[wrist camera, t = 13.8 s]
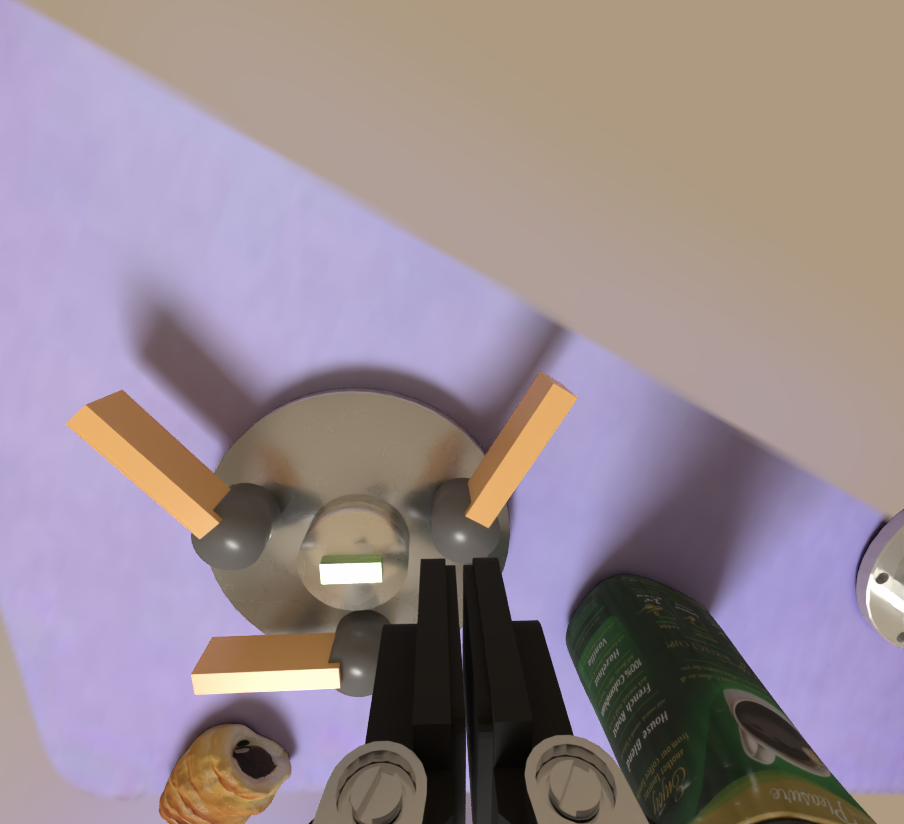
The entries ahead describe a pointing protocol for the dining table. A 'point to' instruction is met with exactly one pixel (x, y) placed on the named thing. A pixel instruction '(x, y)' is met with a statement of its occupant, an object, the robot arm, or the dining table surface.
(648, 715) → the coffee jar
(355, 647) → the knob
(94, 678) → the dining table surface
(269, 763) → the pastry
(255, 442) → the level plate
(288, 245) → the dining table surface
